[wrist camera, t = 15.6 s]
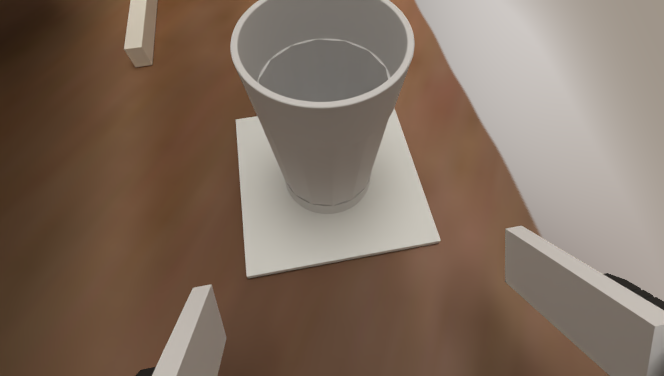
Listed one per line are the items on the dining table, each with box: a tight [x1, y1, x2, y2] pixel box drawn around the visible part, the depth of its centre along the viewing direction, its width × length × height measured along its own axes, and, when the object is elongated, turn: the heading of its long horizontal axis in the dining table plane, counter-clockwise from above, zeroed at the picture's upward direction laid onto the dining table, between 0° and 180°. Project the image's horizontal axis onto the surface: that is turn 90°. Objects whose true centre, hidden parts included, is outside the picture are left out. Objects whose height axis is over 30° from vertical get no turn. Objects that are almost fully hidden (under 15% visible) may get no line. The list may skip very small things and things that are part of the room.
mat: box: [236, 109, 441, 279], centre depth 26 cm, size 13×13×1 cm
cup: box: [231, 0, 414, 214], centre depth 20 cm, size 8×8×12 cm
